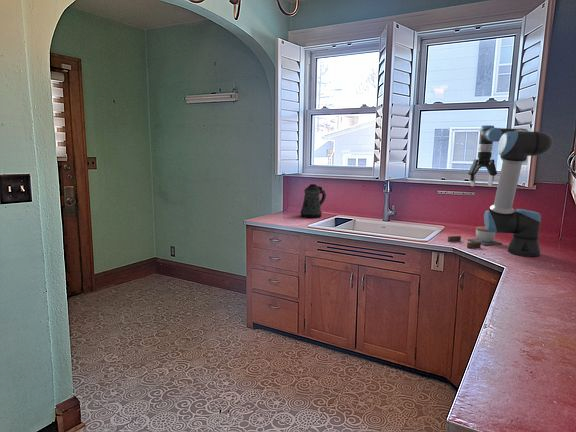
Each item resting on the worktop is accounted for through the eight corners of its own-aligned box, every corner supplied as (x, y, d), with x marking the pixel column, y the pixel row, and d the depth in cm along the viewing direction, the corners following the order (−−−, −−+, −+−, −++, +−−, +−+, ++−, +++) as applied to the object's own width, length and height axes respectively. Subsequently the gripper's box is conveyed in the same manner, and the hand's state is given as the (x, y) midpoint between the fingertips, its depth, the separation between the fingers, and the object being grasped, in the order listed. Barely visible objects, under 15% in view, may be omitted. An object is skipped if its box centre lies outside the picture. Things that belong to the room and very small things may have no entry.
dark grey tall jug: (296, 216, 307) (296, 184, 303) (310, 213, 323) (311, 182, 318) (314, 219, 298) (315, 186, 293) (327, 216, 313) (328, 184, 308)
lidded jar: (490, 239, 240) (492, 224, 238) (497, 243, 229) (499, 227, 228) (472, 238, 241) (473, 223, 239) (478, 242, 231) (480, 226, 229)
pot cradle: (480, 247, 223) (480, 242, 222) (468, 248, 220) (469, 243, 220) (458, 240, 239) (459, 235, 238) (447, 241, 236) (448, 236, 236)
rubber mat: (501, 244, 231) (502, 243, 231) (484, 245, 227) (484, 244, 227) (484, 239, 243) (484, 237, 243) (467, 240, 239) (467, 239, 239)
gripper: (496, 151, 250) (492, 185, 253) (463, 151, 242) (460, 185, 246) (506, 151, 243) (502, 186, 246) (473, 151, 235) (469, 187, 239)
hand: (481, 186), depth 246 cm, fingers open, 13 cm apart
